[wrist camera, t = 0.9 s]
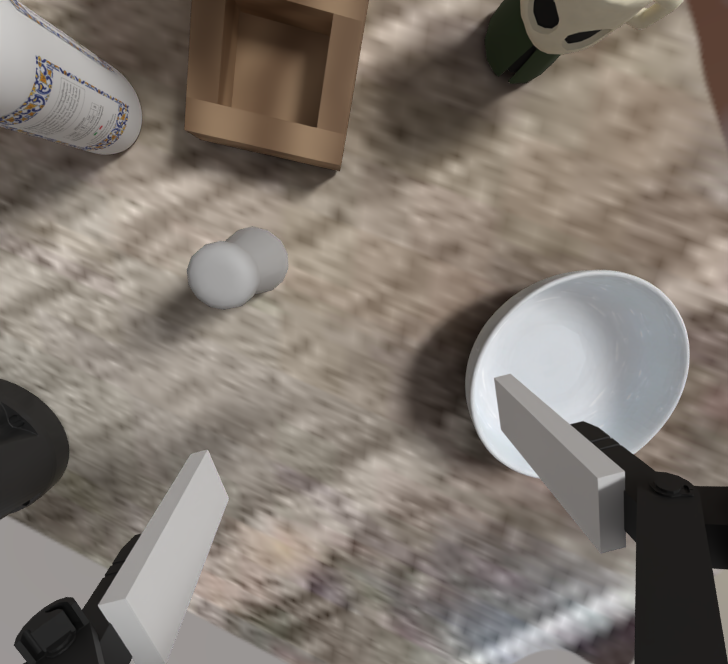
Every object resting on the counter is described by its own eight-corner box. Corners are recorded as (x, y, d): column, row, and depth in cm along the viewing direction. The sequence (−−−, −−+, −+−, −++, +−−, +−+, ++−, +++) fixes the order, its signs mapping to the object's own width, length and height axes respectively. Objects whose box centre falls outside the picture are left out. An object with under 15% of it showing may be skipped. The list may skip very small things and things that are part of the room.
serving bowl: (655, 387, 42) (715, 417, 35) (492, 469, 44) (520, 513, 37) (601, 223, 36) (660, 223, 29) (415, 326, 38) (431, 348, 31)
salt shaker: (226, 280, 35) (163, 313, 22) (233, 220, 33) (171, 219, 21) (286, 293, 36) (258, 332, 23) (296, 235, 34) (272, 242, 22)
